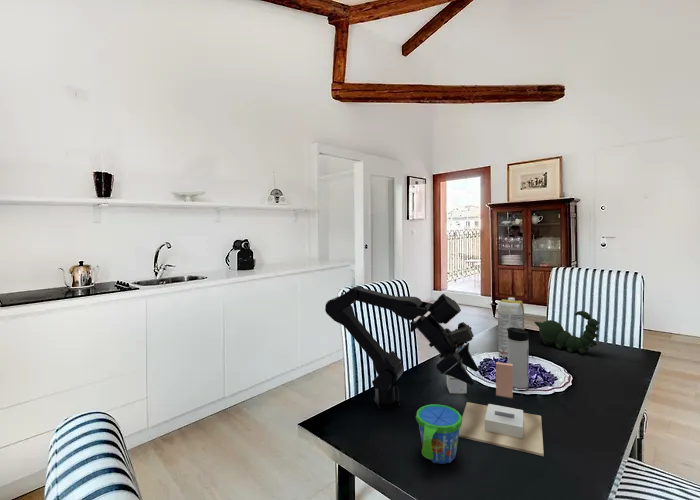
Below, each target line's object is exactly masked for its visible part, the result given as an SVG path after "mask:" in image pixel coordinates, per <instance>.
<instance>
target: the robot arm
mask: <svg viewBox="0 0 700 500" xmlns="http://www.w3.org/2000/svg"><path fill="white" fill-rule="evenodd" d="M355 302H360V303H364V304H367V305H371V306H375V307H378V308H382V309H385V310H388V311H391V312H392V313H394V314H395V316H398V317H400V318H403V319H404V320H407V321H410V323H409V324H410V329H409V331H410V333H413V332H414V331H416V329H417V330H418V331H419V332H420V333H421V334H422V335H423V336H424V338H425V339H426V340H427V342H429V344H428V346H429V348H434V349H435V350H436V351H437V352H438V353H439V355H438V357H439V358H440V359H439V360H438V361H437V362H436V363H437V364H436V370H437V371H438V373H439V374H440V375H445V376H446V375H449V376H452V377H454V378H457V379H459V380H461V381H463V382H465V383H466V384H468V385H469V386H473V385H474V384H475V381H474V379H473V378H472V377H471V375H470V373H468V372H467V369H466V370H465V368H464V367H463V366H462V363H463V364H464V365H466V368H469V369H470V370H472V371H474V372H478V371H479V367H478V366H477V364H476V361H475V360H474V358H473V356H472V355H471V353H470V341H472V340H473V337H474V335H475V334H474V333H473V329H472V327H471V326H470V325H469V324H467V323H465V322H464V321H463V322H459V323H458V325H457V328H455V329H453V330H451V329H449V328H447V327H446V328H444V327H443V326H442V324H444V325H446V324H448V323H449V322H450V321H451V320H453V319H454V318H455V317H456V316H458V314H459V313H461V312H462V309H461V307H460V306H459V304H458V303H457V302H456V300H455V299H452V298H451V297H449V296H447V295H446V294H445V293H442V294H441V295H440V296H438V298H437V299H436V300H435V301H434V302H432V303H431V302H427V301H422V300H421V299H420V298H419V297H417V296H408V295H405V296H404V295H402V296H401V295H400V296H399V295H398V296H397V295H392V294H388V293H384V292H380V291H377V290H372V289H368V288H364V287H362V286H359V285H356V286H354V287H351V288H350V289H348V290H347V292H345V293H343V294H342V295H338V296H336V297H334V298H331V299H329V300H328V301H326V303H325V309H324V311H325V313H326V314H327V315H328V316H329V318H331V319H332V321H334V322H336V323H337V324H340V325H342V326H343V327H344V328H345V329H346V330H347V332H348V333H349V334H350V335H351V337H352V338H353V339H354V340H355V342H357V344H358V345H359V346H360V347H361V348H362V349H363V351H364V352H365V354H366V355H367V356H368V357H369V358H370V359H371V361H372V364H373V366H374V370H375V372H376V374H377V376H376V377H375V378H374V379H373V380H372V381H371V382H372V386H373V388H374V391H375V392H374V393H375V394H374V395H375V396H374V397H373V401H374V402H375V404H376V405H377V407H378V408H379V409H380V410H385V409H389V408H395V407H399V406H400V405H401V404H400V402H399V401H400V395H399V394H400V391H399V387H398V384H397V381H398V379H400V377H401V376H402V375H403V373H404V364H403V363H402V361H403V360H402V359H401V358H399V356H397V354H396V352H395V351H394V350H392V351H391V352H389V351H386V350H385V349H384V348H383V347H382V346H381V345H380V344H379V343H378V341H377V340H376V339H375V338H374V336H373V335H372V334H371V333H370V332H369V330H367V328H366V327H365V326H364V325H363V324H362V322H361V321H360V320H359V319H358V318H357V316H356V315H355V311H354V308H353V304H354V303H355ZM428 312H429V314H427V313H428ZM426 314H427V316H425V315H426ZM416 318H417V319H416ZM415 319H416V320H415Z"/></svg>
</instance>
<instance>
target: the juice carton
mask: <svg viewBox="0 0 700 500" xmlns="http://www.w3.org/2000/svg"><path fill="white" fill-rule="evenodd" d="M507 328H519V329H523V330H524V331H525V308H524V303H523V300H516V298H515V297H507V299H501V300H500V301H499V303H498V307H497V349H498V354H499V357H500V356H502V357H501V358H505V357H508V331H507Z"/></svg>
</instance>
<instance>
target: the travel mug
mask: <svg viewBox="0 0 700 500" xmlns="http://www.w3.org/2000/svg"><path fill="white" fill-rule="evenodd" d="M507 331H508V358H507V363H508V364H513V388H517V389H527V388H528V389H529V331H526V330H525V329H524V330H523V329H519V328H507ZM528 389H527V390H528Z"/></svg>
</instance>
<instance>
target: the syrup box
mask: <svg viewBox="0 0 700 500" xmlns="http://www.w3.org/2000/svg"><path fill="white" fill-rule="evenodd" d="M462 366H463V367H464V368H465V370H466V371H467V366H466V365H464V364H463V363H462ZM445 376H446V378H445V379H446V387H447V390H448V392H449V394H460V395H462V394H467V387H468V386H467V383H465V382H463V381H461V380H459V379H457V378H454V377H452V376H449V375H445Z"/></svg>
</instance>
